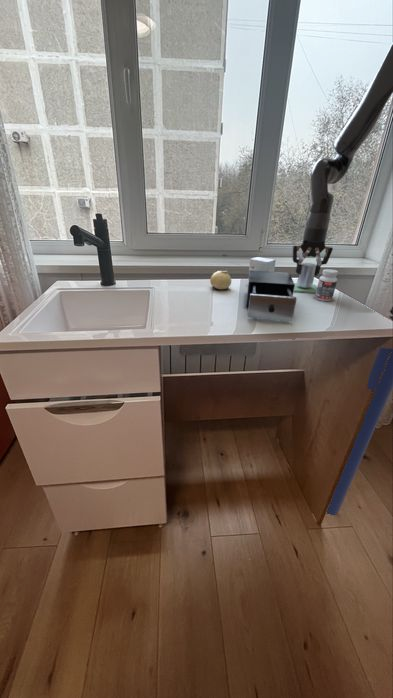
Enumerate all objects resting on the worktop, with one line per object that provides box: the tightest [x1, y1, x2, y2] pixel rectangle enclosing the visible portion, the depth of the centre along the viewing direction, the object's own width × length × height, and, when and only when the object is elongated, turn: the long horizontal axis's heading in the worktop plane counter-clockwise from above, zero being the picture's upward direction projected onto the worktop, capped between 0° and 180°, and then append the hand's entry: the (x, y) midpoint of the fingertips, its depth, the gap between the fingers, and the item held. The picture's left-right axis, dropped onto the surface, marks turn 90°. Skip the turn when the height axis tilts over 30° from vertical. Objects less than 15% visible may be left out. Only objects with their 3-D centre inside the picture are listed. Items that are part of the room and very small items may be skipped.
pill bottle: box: [314, 268, 339, 302], centre depth 99 cm, size 6×6×10 cm
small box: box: [247, 256, 276, 280], centre depth 110 cm, size 8×6×10 cm
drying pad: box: [293, 282, 317, 294], centre depth 111 cm, size 10×10×1 cm
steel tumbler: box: [296, 262, 317, 288], centre depth 109 cm, size 6×6×8 cm
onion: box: [209, 269, 232, 291], centre depth 108 cm, size 8×8×7 cm
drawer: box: [247, 284, 298, 322], centre depth 85 cm, size 15×12×7 cm
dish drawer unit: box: [245, 269, 295, 309], centre depth 95 cm, size 15×14×9 cm
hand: (306, 274), depth 108 cm, fingers closed on steel tumbler, 5 cm apart
